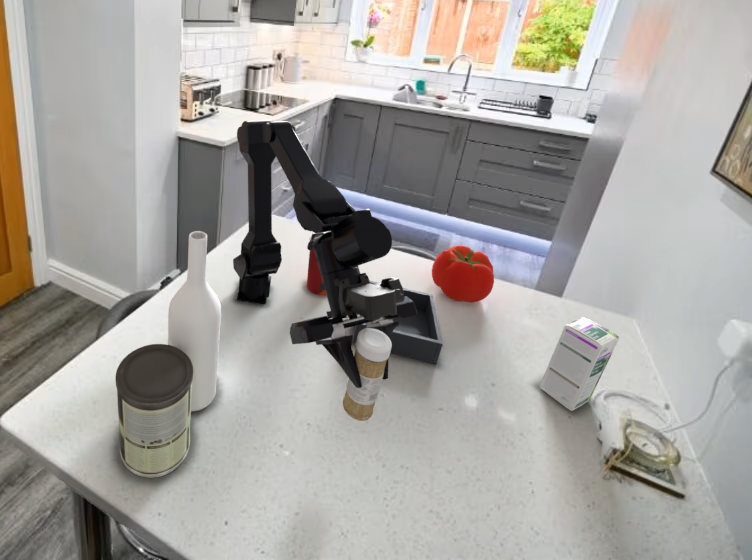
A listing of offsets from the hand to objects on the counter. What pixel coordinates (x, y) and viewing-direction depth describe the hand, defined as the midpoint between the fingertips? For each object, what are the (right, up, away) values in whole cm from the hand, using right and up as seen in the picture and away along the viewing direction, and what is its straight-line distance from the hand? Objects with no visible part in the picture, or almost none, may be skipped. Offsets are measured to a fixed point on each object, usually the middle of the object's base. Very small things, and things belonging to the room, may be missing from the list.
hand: (372, 383), depth 61 cm
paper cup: (0, +2, +41) cm, 41 cm away
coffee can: (-31, -11, +4) cm, 33 cm away
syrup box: (+40, -10, +18) cm, 44 cm away
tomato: (+33, +1, +44) cm, 55 cm away
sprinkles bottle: (-1, -6, +4) cm, 7 cm away
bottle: (-27, -7, +12) cm, 30 cm away
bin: (+13, -3, +31) cm, 33 cm away
